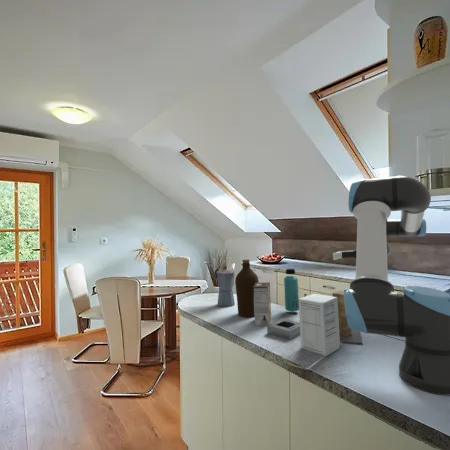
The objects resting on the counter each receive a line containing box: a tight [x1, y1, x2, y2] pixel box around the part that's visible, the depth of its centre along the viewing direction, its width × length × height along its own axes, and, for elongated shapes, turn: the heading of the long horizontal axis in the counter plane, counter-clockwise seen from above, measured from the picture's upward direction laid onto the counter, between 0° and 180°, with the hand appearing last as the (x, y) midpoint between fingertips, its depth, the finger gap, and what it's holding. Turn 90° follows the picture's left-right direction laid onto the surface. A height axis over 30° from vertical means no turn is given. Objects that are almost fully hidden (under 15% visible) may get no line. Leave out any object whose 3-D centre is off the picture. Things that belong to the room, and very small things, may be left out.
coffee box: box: [253, 281, 272, 326], centre depth 133 cm, size 9×6×16 cm
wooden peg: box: [332, 290, 351, 337], centre depth 114 cm, size 4×4×15 cm
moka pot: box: [214, 265, 236, 307], centre depth 164 cm, size 10×15×20 cm, turn 42°
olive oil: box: [234, 259, 260, 318], centre depth 145 cm, size 11×11×25 cm
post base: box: [266, 318, 300, 341], centre depth 119 cm, size 10×10×4 cm
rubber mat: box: [340, 330, 363, 345], centre depth 114 cm, size 14×12×1 cm
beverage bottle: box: [283, 268, 300, 312], centre depth 145 cm, size 6×7×20 cm
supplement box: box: [298, 293, 341, 357], centre depth 104 cm, size 10×9×17 cm
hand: (350, 257), depth 121 cm, fingers open, 13 cm apart
